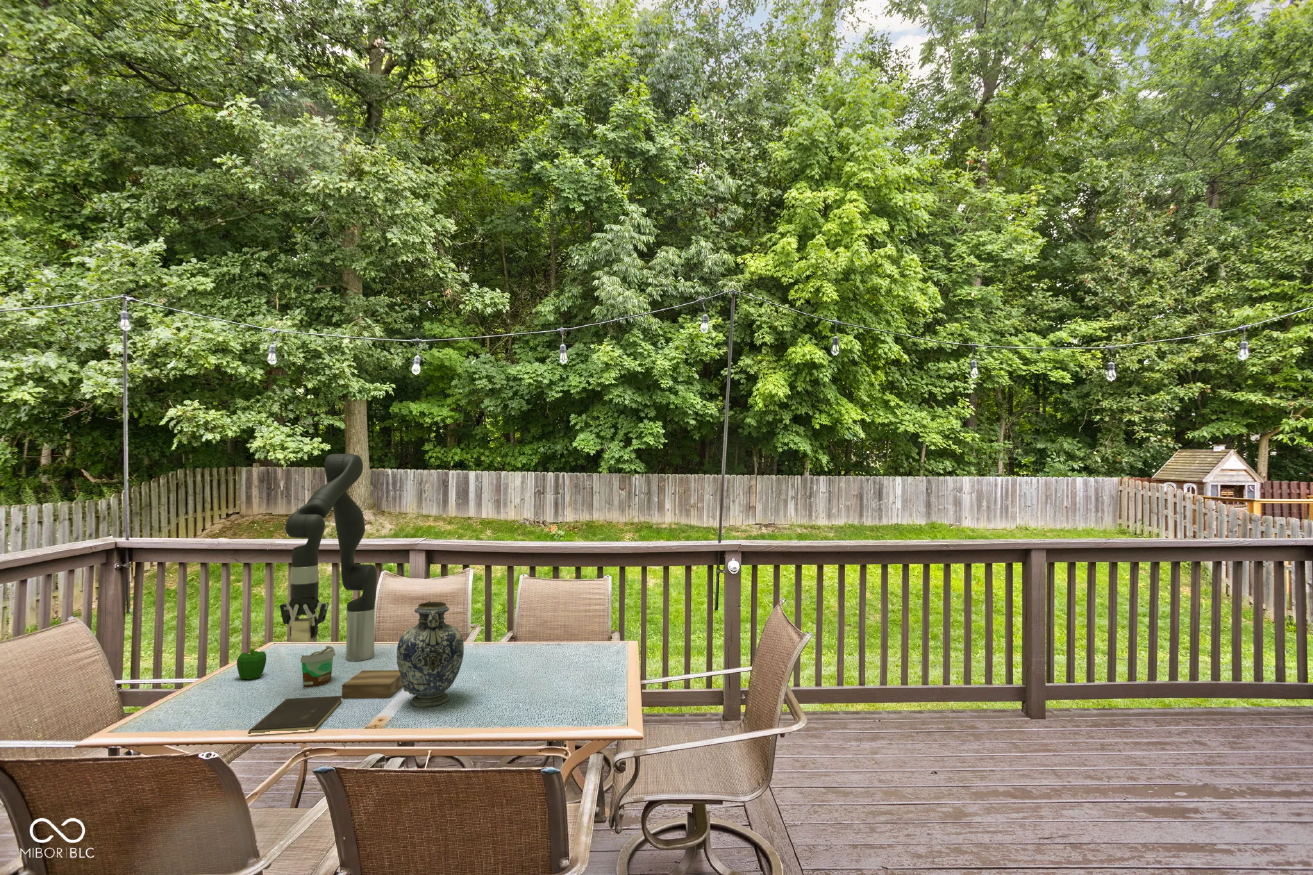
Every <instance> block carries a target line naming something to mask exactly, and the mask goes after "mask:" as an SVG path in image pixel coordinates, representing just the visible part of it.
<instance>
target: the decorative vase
mask: <svg viewBox="0 0 1313 875" xmlns="http://www.w3.org/2000/svg"><path fill="white" fill-rule="evenodd" d="M448 611H450V607H449V606H448V605H447V603H446V602H442V601H431V600H427V602H423V603H419V604H418V606H417V607H415V609H414V613H416V614H418V616H419V617H418V620H417V621H418V623H417V625H415V626H411V628H408V629H407V630H406V631H405V632H404V633H403V634H402V635H401V636H400V638H399V641H398V643H397V648H396V663H397V670H399V672H400V675H401V677H402V679H401V683H403V687H402V688H403V692H405V693H409V695H413V696H412V698H411V700H410V704H411V705H412V706H414V707H416V706H417V707H418V708H432V707H438V706H441V705H443V704H446V703H447V702H449V701H450V695H449V694H448V693H446V691H447V690H449V689H450V688H451V686H452V685H453V684H454V682H455V681H456V680H457V677H458V674H460V673H459V672H460V670H461V666H462V664H463V660H464V653H465V652H464V651H465V647H464V646H465V643H464V639H463V635H462V633H461V631H460V630H459V628H457V627H456V626H454V625H451V624H448V623H446V622H445V619H446V618H445V614H446V612H448Z"/></svg>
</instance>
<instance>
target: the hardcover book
mask: <svg viewBox="0 0 1313 875" xmlns="http://www.w3.org/2000/svg"><path fill="white" fill-rule="evenodd" d="M342 697H343V696H342V695H329V696H312V697H311V696H310V697H296V698H295V697H293V698H285V699H284V700H283V701H282V702H280V703H279V704H278V705H277V706H276V707H275V708H273V710H271V711H270V712H269V713H267V715H265V716H264V717H263V718H262V719H260V720H259V721H258V722H257V723H256V724H254V725H253V726H252V727H251V728H250V729H249V730H247V735H248V734H251V733H265V732H270V731H298V730H310V729H316V728H317V727H318V726H319V725H320V724H321V723H323V722H325V720H326V719H327V718H328V717H329V716H330V715H331V714H332V713H333V712H334V711H335V709H336V708H337V707H339V705H340V704H341V703H342ZM321 725H322V724H321ZM321 725H320V726H321ZM320 726H319V727H320ZM319 727H318V728H319ZM318 728H317V729H318ZM317 729H316V730H317Z"/></svg>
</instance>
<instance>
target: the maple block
mask: <svg viewBox="0 0 1313 875" xmlns="http://www.w3.org/2000/svg"><path fill="white" fill-rule="evenodd" d="M311 626H312V625H311V621H310V620H309V619H308V617H299V619H297V620H295V621H292V622H291V636H290V641H291V642H290V643H309V642H312V641H313V640H315V639H317V636H316V637H315V638H311Z"/></svg>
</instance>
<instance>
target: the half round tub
mask: <svg viewBox="0 0 1313 875" xmlns="http://www.w3.org/2000/svg"><path fill="white" fill-rule="evenodd" d="M335 656H336V651H335V647H333V646H330V645H326V646H325V648H324V649H322V650H319V651H314V652H312V653H311V654H307V655H301V657H300V663H301V671H302V672H301V673H302V687H303V688H314V687H313V686H315V687H320V685H321V686H324V685H327V684H330V683H331V681H332V672H333V663H334V662H333V660H334V657H335Z"/></svg>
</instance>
